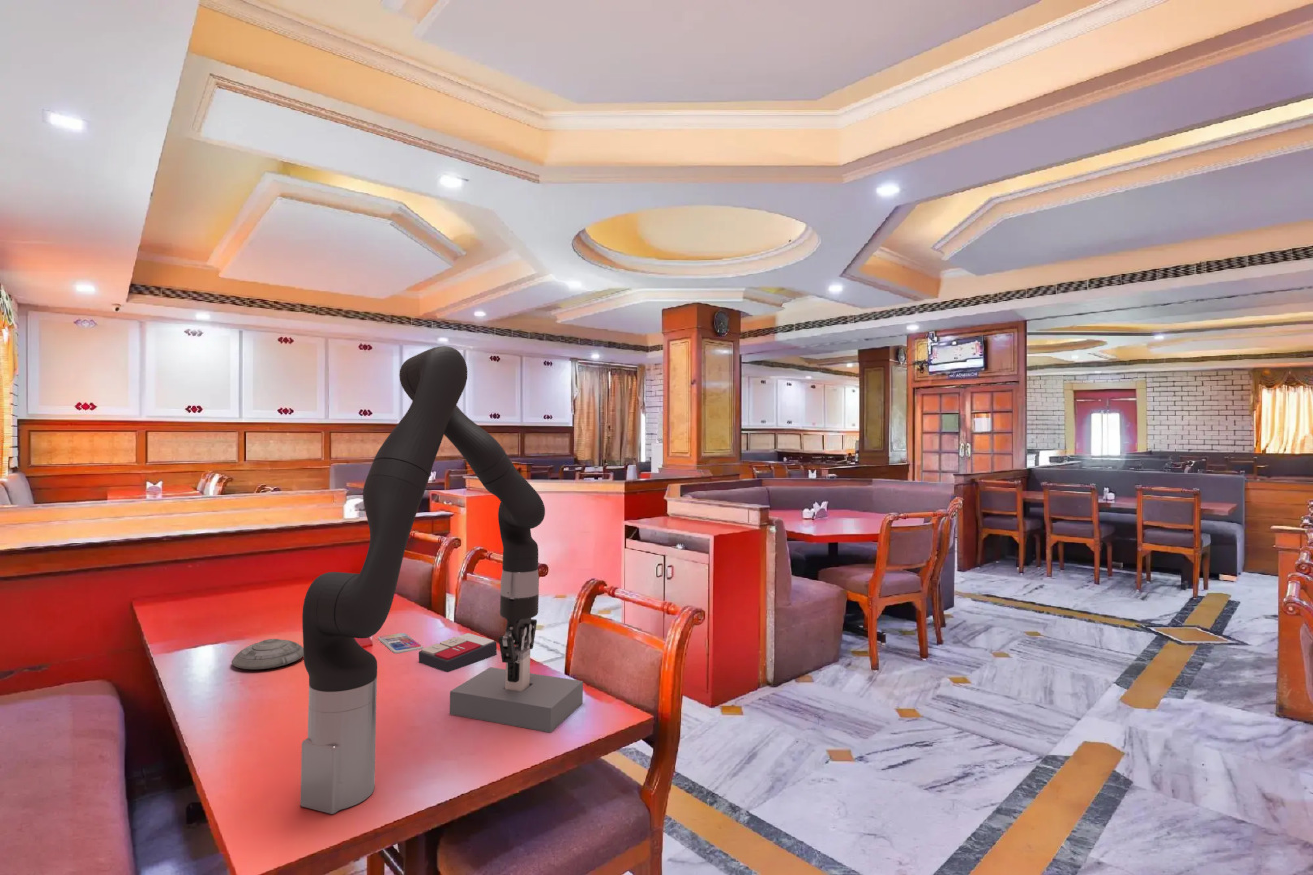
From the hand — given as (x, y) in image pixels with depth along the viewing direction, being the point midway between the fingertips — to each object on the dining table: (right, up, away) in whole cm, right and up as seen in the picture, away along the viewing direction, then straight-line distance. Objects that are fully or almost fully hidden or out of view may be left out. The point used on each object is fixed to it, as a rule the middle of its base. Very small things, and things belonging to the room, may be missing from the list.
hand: (517, 677), depth 126 cm
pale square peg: (0, -5, 0) cm, 5 cm away
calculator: (-21, -7, +28) cm, 35 cm away
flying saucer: (-64, -6, +23) cm, 68 cm away
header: (0, -6, 0) cm, 6 cm away
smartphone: (-39, -6, +38) cm, 55 cm away
